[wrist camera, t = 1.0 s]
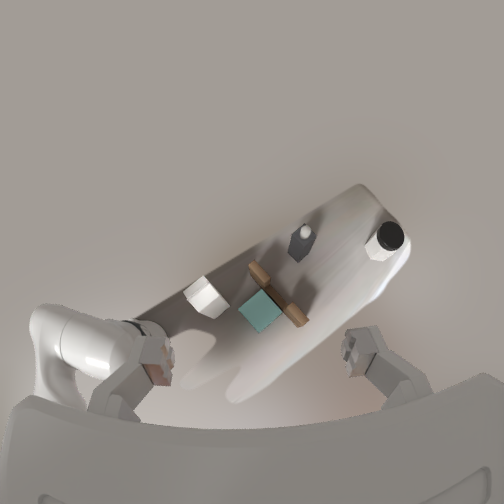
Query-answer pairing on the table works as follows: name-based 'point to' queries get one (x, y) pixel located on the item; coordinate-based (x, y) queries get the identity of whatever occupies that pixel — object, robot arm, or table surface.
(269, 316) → the teal block
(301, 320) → the brown notched panel
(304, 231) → the grey capped bottle
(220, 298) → the milk
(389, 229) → the jar
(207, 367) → the table surface
